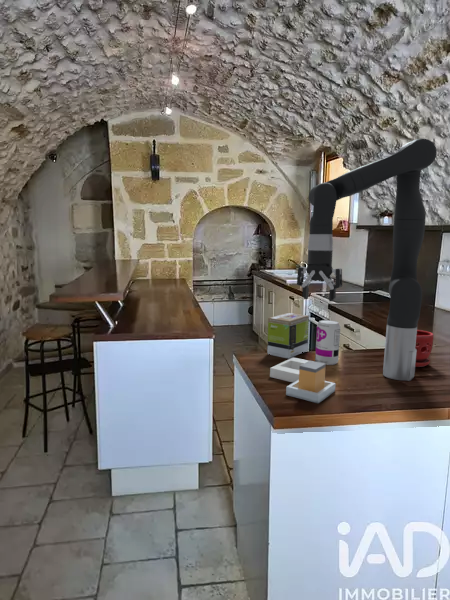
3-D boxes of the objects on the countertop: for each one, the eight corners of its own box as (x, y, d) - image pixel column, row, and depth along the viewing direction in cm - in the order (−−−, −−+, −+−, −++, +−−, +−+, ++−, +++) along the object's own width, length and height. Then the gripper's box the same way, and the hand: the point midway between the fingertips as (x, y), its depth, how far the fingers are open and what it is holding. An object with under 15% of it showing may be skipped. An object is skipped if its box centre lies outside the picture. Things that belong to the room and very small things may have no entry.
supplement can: (321, 366, 153) (324, 324, 151) (311, 359, 161) (313, 320, 159) (342, 364, 155) (345, 323, 153) (330, 358, 163) (333, 319, 161)
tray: (335, 391, 128) (335, 383, 128) (318, 403, 119) (318, 394, 118) (304, 383, 134) (304, 376, 134) (286, 394, 125) (286, 386, 124)
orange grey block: (324, 389, 128) (325, 363, 127) (314, 396, 122) (315, 369, 121) (308, 386, 131) (309, 360, 129) (298, 392, 125) (299, 365, 124)
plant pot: (432, 362, 161) (435, 330, 160) (428, 371, 150) (431, 337, 148) (395, 356, 168) (397, 326, 166) (389, 364, 157) (391, 332, 155)
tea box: (286, 347, 178) (288, 311, 176) (308, 351, 172) (310, 315, 170) (266, 354, 167) (267, 316, 165) (288, 359, 161) (290, 320, 158)
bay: (320, 371, 147) (321, 363, 146) (299, 384, 134) (300, 374, 133) (292, 365, 153) (292, 357, 152) (269, 376, 140) (270, 367, 140)
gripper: (346, 249, 135) (344, 300, 137) (304, 248, 143) (302, 296, 145) (338, 249, 129) (336, 303, 131) (294, 248, 137) (293, 299, 139)
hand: (318, 300), depth 138 cm, fingers open, 8 cm apart
